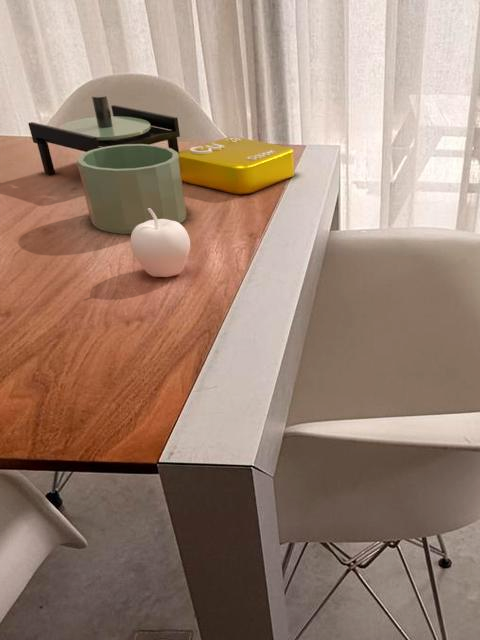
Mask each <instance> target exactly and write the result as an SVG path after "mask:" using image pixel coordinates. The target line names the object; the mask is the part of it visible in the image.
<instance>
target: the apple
mask: <svg viewBox="0 0 480 640" xmlns="http://www.w3.org/2000/svg"><path fill="white" fill-rule="evenodd" d="M148 210H149V212H150V213H151V215H152V217H153V219H154V220H149V221H146V222H144V223H141V224H139V225H137V226H136V227H135V228H134V230H133V232H132V234H130V244H129V245H130V248H131V251H132V253H133V256H134V257H135V258H136V260H137V261H138V263H139V264H140V265H141V267H142V268H143V269H144V271H145V272H146V273H147V274H148V275H150V276H151V277H154V278H160V277H161V278H170V277H174V276H178V275H180V274H181V273H182V272H183V270H184V269H185V267H186V264H187V260H188V257H189V255H190V250H191V239H190V238H191V237H190V235H189V233H188V232H187V230H186V228H185V227H184V226H183V225H182V224H181V223H178V222H176V221H172V220H167V219H157V217H156V215H155V214H154V212H153V211H152V210H151V208H149V209H148Z"/></svg>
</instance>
